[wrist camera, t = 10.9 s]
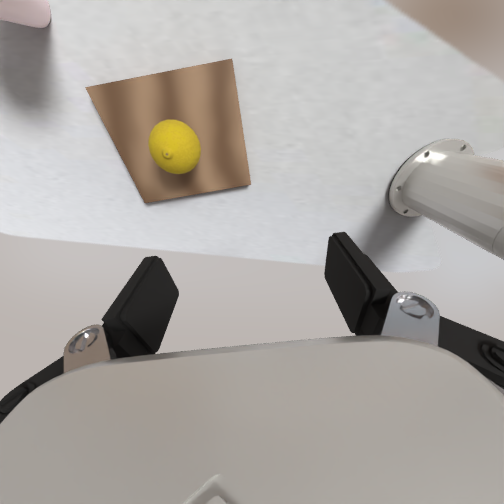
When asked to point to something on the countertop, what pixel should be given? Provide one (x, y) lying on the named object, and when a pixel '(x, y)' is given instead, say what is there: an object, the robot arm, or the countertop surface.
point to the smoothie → (26, 12)
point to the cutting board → (187, 111)
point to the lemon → (174, 146)
